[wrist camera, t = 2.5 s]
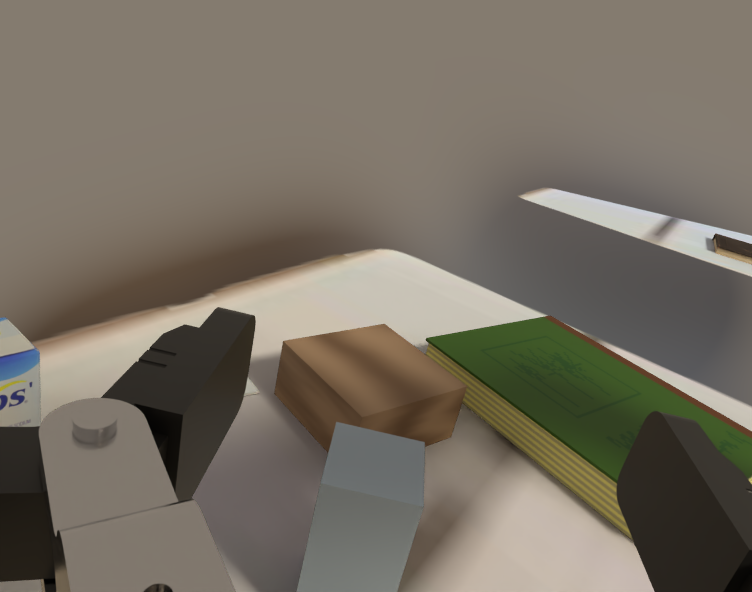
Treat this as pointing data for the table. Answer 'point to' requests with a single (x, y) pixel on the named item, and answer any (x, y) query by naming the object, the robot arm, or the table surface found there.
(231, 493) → the table surface
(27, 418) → the medicine box
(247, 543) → the table surface
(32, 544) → the robot arm
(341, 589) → the top brick
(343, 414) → the base brick
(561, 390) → the hardcover book
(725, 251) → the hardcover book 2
